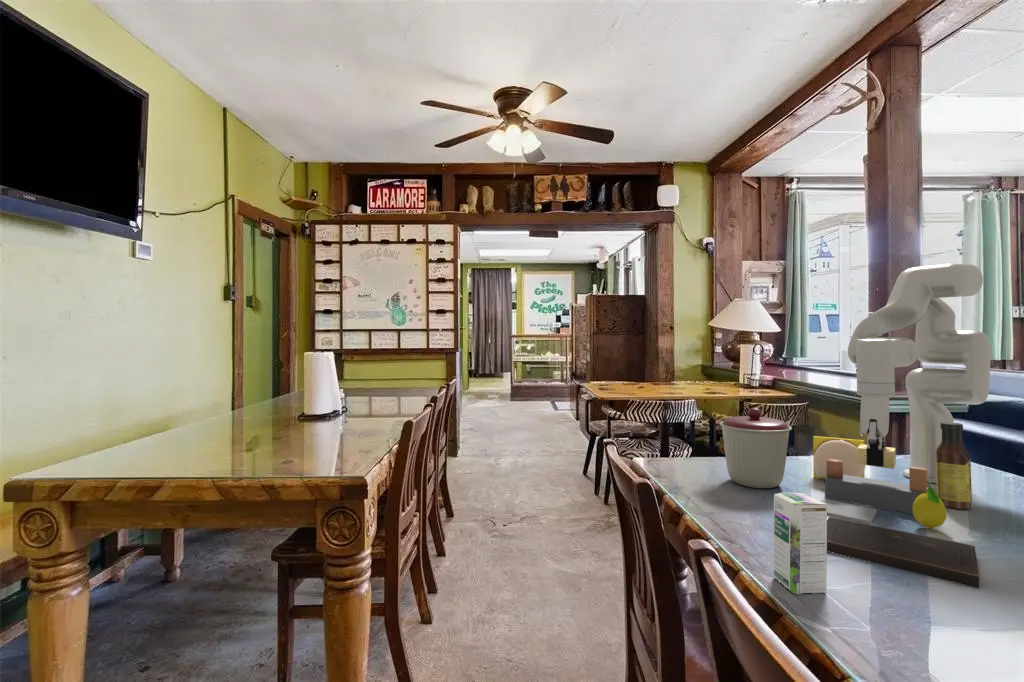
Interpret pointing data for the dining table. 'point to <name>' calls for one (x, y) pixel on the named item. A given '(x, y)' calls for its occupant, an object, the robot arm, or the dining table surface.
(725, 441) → the canister
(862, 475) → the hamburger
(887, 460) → the tan rectangular block
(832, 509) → the mat
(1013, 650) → the dining table surface
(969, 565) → the hardcover book
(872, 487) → the plane body
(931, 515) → the lemon
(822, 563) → the syrup box
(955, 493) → the sauce bottle
